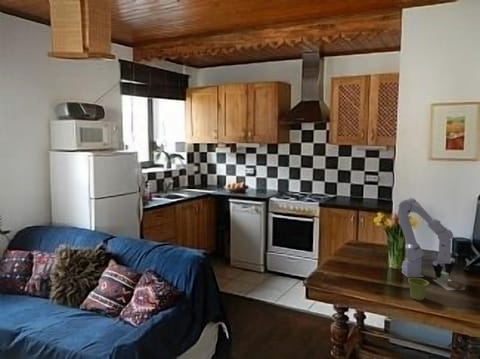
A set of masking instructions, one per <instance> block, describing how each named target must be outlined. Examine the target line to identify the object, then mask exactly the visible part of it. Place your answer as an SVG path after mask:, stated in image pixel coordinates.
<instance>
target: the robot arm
mask: <svg viewBox="0 0 480 359" xmlns="http://www.w3.org/2000/svg"><path fill="white" fill-rule="evenodd" d="M411 213H416V214H417V215H419V217H420V218H422V220H424V221H425V222H426V223H427V227H428V228H429V229H430V230H432V232H433V233H434V234H436V236H437V239H438V240H439V242H438V255H437V256H438V258H437V259H436V260H434V261H432V263H431V267H432V268H433V270H434V272H435V277H436V279H437V278H440V277H441V271H443V269H445V271H444V272H446V273H449V277H450V276H451V274H452V271H453V269H454V268H455V266H456V263H455V261H456V260H455V258H453V257H451V250H452V239H453V237H454V234H453V232H452V230H450V229H448V228H447V227H445V226H444V225H443V224H442V223H441V220H438V219H437V218H436V219H435V218H433V217H432V216H431V215H430V214H429V213H428V212H427V211H426V210H425V209H424V207H423V206H422V205H421V204H420V203H419V202H418V201H417V200H416V199H415V198H414V197H409V198H407V199H403V200H401V202H399V204H398V210H397V218H398V221H399V224H400V227H401V230H402V234H403V237H404V239H405V240H404V241H405V243H406V247H405V251H406V253H405V255H406V256H405V257H406V258H407V259H404V260H402V263H401V264H402V265H401V266H402V267H401V273H402V274H403V275H404V276H406V277H407V278H421V277H422V278H423V277H424V275H422V274H421V273H422V272H421V270H422V257H423V256H424V250H423V249H422V248H421V246H420V244H419V243H418V242H417V240H416V237H415V233H414V230H413V227H412V224H411V221H410V218H409V215H410V214H411ZM443 264H444V266H441V265H443ZM444 267H445V268H444Z"/></svg>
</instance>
